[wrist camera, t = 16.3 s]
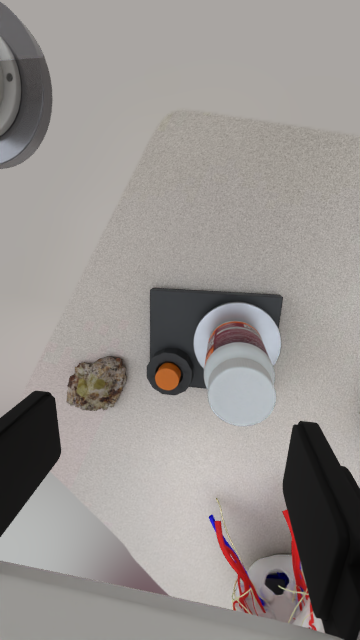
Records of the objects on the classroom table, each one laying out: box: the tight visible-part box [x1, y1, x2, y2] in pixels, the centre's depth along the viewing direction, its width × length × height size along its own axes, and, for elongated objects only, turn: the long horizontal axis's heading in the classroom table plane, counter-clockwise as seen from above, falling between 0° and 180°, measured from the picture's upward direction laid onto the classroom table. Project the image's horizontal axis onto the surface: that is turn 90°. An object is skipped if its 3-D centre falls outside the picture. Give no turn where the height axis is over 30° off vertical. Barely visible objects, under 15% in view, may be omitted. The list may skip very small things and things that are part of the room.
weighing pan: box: [194, 302, 281, 369], centre depth 31 cm, size 10×10×1 cm
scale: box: [147, 288, 283, 395], centre depth 34 cm, size 16×14×4 cm
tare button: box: [155, 363, 181, 390], centre depth 33 cm, size 3×3×2 cm
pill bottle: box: [204, 321, 276, 426], centre depth 25 cm, size 6×6×11 cm
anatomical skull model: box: [209, 498, 325, 633], centre depth 35 cm, size 16×19×25 cm
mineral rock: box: [67, 356, 127, 411], centre depth 39 cm, size 11×4×8 cm
